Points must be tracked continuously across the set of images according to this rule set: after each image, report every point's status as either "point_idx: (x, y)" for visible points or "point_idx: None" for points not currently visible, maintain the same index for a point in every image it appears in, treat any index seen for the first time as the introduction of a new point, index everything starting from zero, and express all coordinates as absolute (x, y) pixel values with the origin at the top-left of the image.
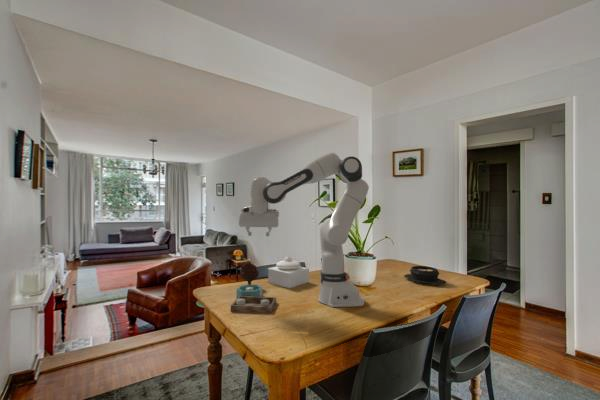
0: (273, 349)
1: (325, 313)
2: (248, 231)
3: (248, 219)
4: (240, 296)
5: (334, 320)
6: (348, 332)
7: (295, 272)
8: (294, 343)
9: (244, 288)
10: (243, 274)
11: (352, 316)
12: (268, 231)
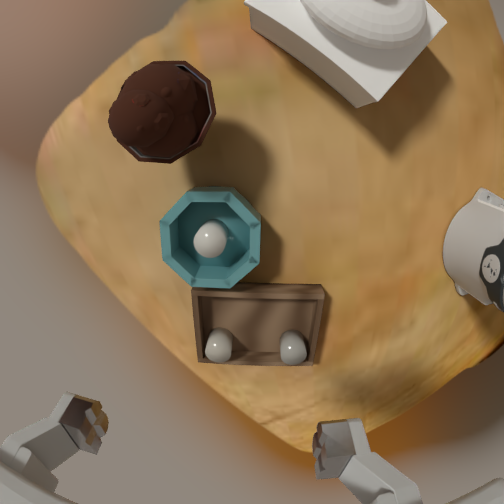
0: None
1: (433, 329)
2: (68, 454)
3: None
4: (196, 294)
5: (435, 357)
6: (434, 389)
7: (405, 68)
8: None
9: (181, 212)
10: (142, 160)
11: (470, 333)
12: (353, 491)
